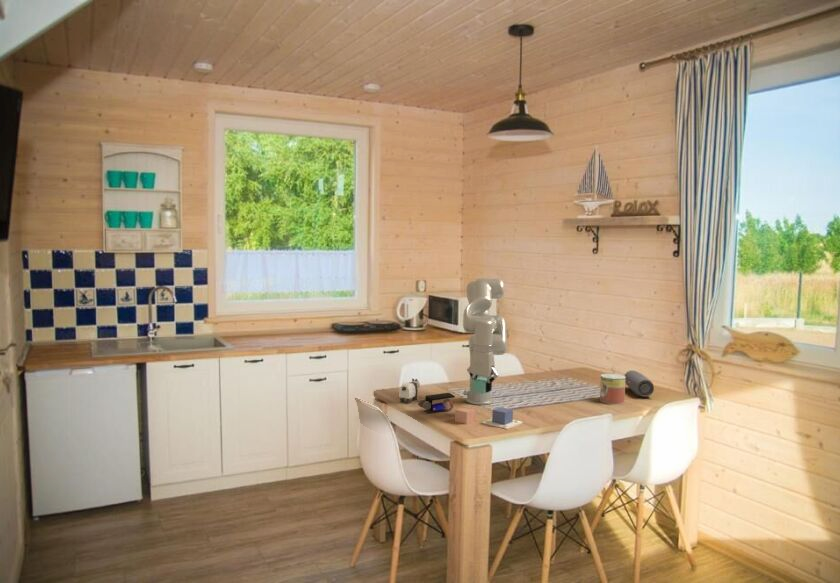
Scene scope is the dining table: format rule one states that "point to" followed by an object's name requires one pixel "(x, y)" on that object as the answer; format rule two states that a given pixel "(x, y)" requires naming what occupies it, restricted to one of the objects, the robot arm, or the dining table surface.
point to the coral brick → (465, 415)
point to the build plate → (502, 418)
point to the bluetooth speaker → (639, 383)
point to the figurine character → (431, 407)
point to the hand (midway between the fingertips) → (482, 389)
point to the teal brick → (479, 385)
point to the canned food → (612, 389)
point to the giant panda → (409, 391)
